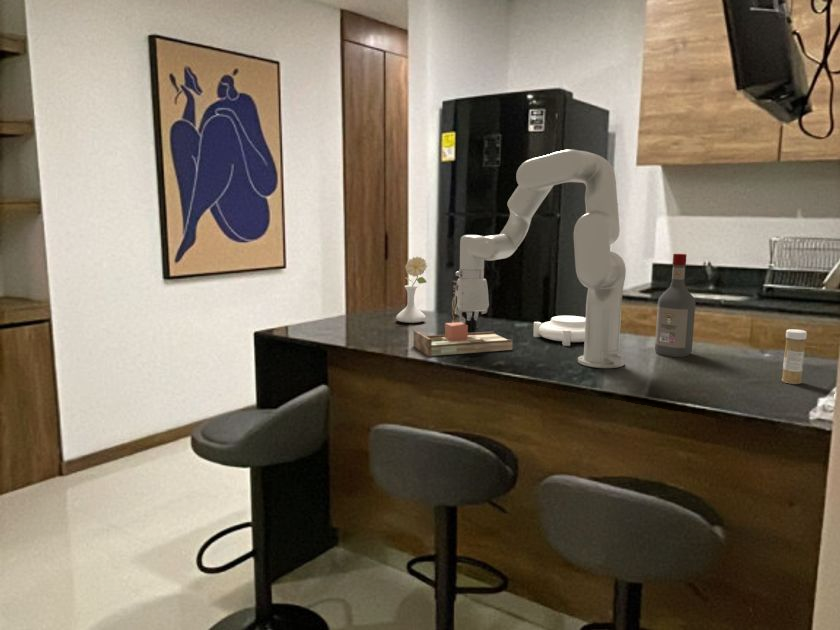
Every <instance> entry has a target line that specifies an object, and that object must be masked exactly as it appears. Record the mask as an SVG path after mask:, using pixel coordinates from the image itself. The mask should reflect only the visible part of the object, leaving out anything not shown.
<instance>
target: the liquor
mask: <svg viewBox="0 0 840 630" xmlns="http://www.w3.org/2000/svg"><path fill="white" fill-rule="evenodd" d="M672 257H673V258H672V274H671V283H670V286H669V287H668V288H667V289H666V290H665V291H664V292H663V293H662V294H661V295H660V296H659V297H658V300H657V307H656V308H657V309H656V323H655V324H656V325H655V340H654V350H655V352H656V354H657V355H660V356H665V357H672V358H684V357H687V356H690V355H691V353H692V351H693V339H694V328H695V327H694V326H695V325H694V324H695V315H696V299H695V297H694V296H693V295H692V293H691V292H690V291H689V289H687V288H686V284H685V275H686V266H687V265H686V264H687V254H686V253H673V254H672Z"/></svg>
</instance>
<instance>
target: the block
mask: <svg viewBox="0 0 840 630" xmlns="http://www.w3.org/2000/svg"><path fill="white" fill-rule="evenodd" d="M444 323H445V324H444V335H445V337H446V338H448V339H449V340H466V339H468V333H469V332H468V325H466V324H464V323H462V322H457V323H452V322H444Z"/></svg>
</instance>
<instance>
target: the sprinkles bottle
mask: <svg viewBox="0 0 840 630" xmlns="http://www.w3.org/2000/svg"><path fill="white" fill-rule="evenodd" d="M807 337H808V333H807V331H806V330H803V329H796V328H795V329H793V328H791V329H790V328H789V329H786V331H785V348H784V354H783V361H782V362H783V364H782V378H781V381H782V382H783V383H786V384H792V385H799V384H801V383H802V373H803V369H804V359H805V358H804V357H805V349H806V348H805V346H806V339H807Z"/></svg>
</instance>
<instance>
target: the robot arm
mask: <svg viewBox="0 0 840 630" xmlns="http://www.w3.org/2000/svg"><path fill="white" fill-rule="evenodd" d="M515 177H516V182H517V184H518V185H517V187H516V188H515V190H514V191H513V193H512V194H511V196H510V197H509V199H508V201H507V207H508V210H509V217H508V220H507V222H506V224H505V225H504V227H503V229H502V230H501V231H500V233H499V234H493V235H485V236H484V235H480V234H479V235H478V234H464V235H462V236H461V237H460V240H459V241H460V243H459V270H458V271H455V276H457V277H458V279H457V280H456V281H457V285H456V291H455V314H457V315H462V316H463V317H464V319H466V322H465V324H466V325H468V333H476V330H477V321H478V319H479V317H481V315H484V314H487V313H488V309H489V307H490V306H489V305H490V303H489V301H490V300H489V289H488V281H487V279H486V278H484V277H485V276H484V275H485V261H489V262H490V261H497V260H502V259H503V260H504V259H508V258H510V257H511V256H512V255H513V254H514V253H515V252H516V250H518V247H520V245H521V243H522V242H523V241H524V239H525V237H526V236H527V233H528V231H529V229H530V226H531V222H532V218H533V216H534V215H535V213H536V211H538V209H539V207H540V206H541V204H543V201H544V200H545V199H546V197H547V196H548V194H549V193H550V192H551V190H552V189H553V187H554V186H556V185H560V184H564V183H581V184H584V185H585V192H584V204H585V213H584V214H582V215H581V216H580V217H579V218H578V219H577V220H576V223H575V225H574V227H573V228H574V229H573V246H574V247H573V248H574V264H575V273H576V276H577V279H578V280H579V283H580V284H582V286H584V287H585V288H587V292H586V293H587V294H586V301H585V302H586V303H585V340H584V342H583V343H584V344H583V346H584V347H583V355H582V354H581V355H579V356H578V357H577V362H578V364H580V365H583V366H585V367H589V368H597V369H616V368H621V367H623V366H624V364H625V357H624V356H621V350H620V335H621V318H622V302H623V293H624V286H625V280H626V274H627V273H626V272H627V271H626V268H627V267H626V263H625V261H624V260H623V258H622V256H621V255H619V254H618V253H616V252H613V251H611V247H610V245H612V244H614V243H615V242H616V241H617V240H618V238H619V236H620V231H621V230H620V229H621V228H620V218H619V204H618V193H617V192H618V191H617V178H616V173H615V170H614V168H613V166H612V165H611V163H610V162H609V161H608V160H607V159H606V158H604V157H603V156H601V155H599V154H596V153H592V152H590V151H585V150H577V149H564V150H560V151H555V152H552V153H550V154H549V153H548V154H546V155H542V156H538V157H533V158H530V159H527V160H525V161H524V162H522V163H521V165H520V166H519V167H518V169H517V171H516V176H515ZM470 311H472V313H471V316H470Z"/></svg>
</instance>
